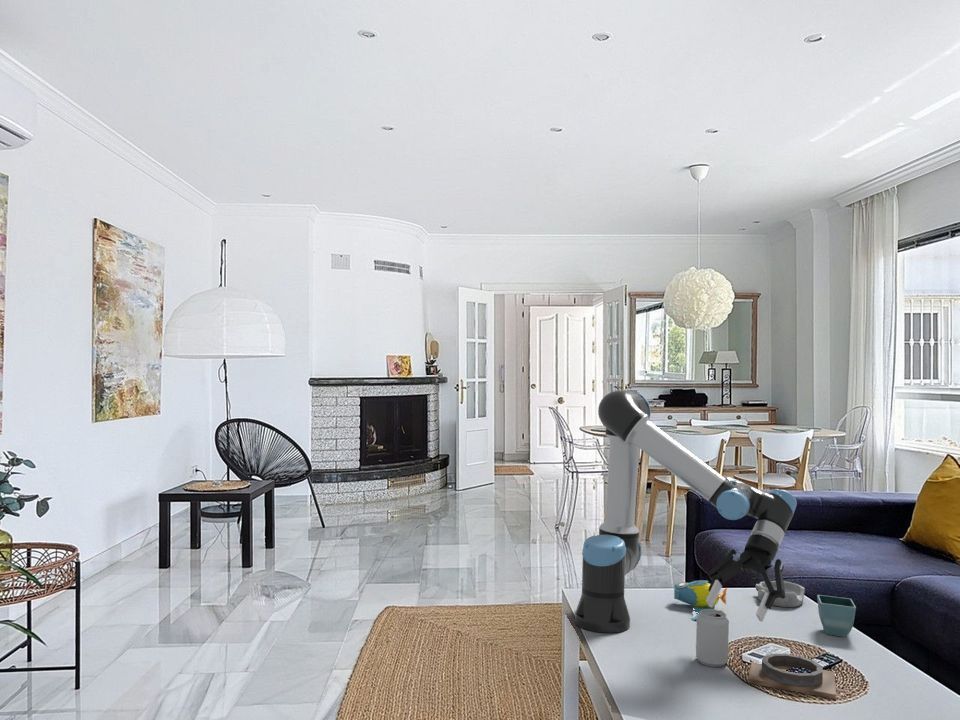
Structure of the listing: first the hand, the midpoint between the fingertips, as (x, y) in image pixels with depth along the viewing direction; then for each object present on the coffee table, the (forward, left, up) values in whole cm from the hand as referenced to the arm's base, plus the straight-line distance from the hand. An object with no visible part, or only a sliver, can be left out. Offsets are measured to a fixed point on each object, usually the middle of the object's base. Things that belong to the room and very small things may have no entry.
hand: (733, 611), depth 184 cm
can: (-4, -6, -11) cm, 14 cm away
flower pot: (+24, +32, -12) cm, 41 cm away
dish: (+9, +56, -12) cm, 58 cm away
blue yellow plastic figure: (-13, +38, -12) cm, 42 cm away
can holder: (+14, -8, -11) cm, 20 cm away
